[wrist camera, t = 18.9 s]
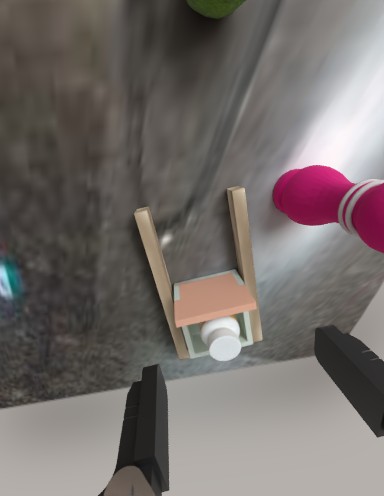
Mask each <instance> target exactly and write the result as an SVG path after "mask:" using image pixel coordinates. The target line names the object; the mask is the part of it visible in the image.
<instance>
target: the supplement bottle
mask: <svg viewBox="0 0 384 496" xmlns="http://www.w3.org/2000/svg"><path fill="white" fill-rule="evenodd" d="M199 329H200V335H201V338H202V341H203V342H204V343H205V344H206V345H207V346H208V349H209V353H210V355H211V356H212V357H213V358H214V359H216V360H218V361H228V360H231V359H233V358H235V357H236V356H237V355H238V354H239V352H240V350H241V343H240V340H239V334H240V328H239V324H238V322H237V320H236V317H235V315H234V314H233V315H229V316H225V317H220V318H216V319H212V320H208V321H203V322H199Z"/></svg>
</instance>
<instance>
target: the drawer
mask: <svg viewBox="0 0 384 496" xmlns="http://www.w3.org/2000/svg"><path fill="white" fill-rule="evenodd" d="M255 309H257V307H256V302H255V300H254V298H253V297H252V295H251V294H250V292H249V290H248V289H247V287H246V285H245V284H244V282H243V281H242V279H241V277H240V276H239V274H238V273H237V271H236V269H234V270H230V271H225V272H221V273H217V274H212V275H208V276H204V277H199V278H195V279H191V280H186V281H182V282H178V283H174V310H175V324H176V327H177V328H178V327H182V330H183V333H184V337H185V340H186V344H187V347H188V350H189V354H190V357H191V359H193V358H197V357H201V356H205V355H210V353H209V349H208V346H207V345H206V344H205V343H204V342H203V341H202V338H201V335H200V329H199V322H203V321H208V320H212V319H216V318H220V317H225V316H229V315H233V314H234V315H235V317H236V320H237V322H238V324H239V328H240V334H239V340H240V343H241V347H243V346H248V345H252V344H253V339H252V332H251V325H250V317H249V311H250V310H255Z"/></svg>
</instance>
